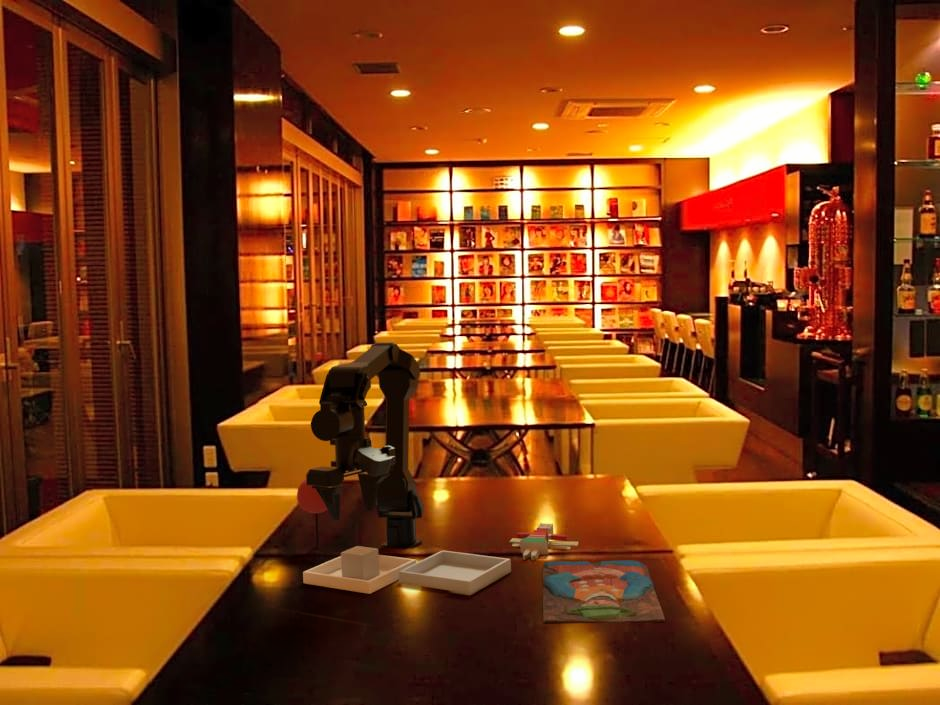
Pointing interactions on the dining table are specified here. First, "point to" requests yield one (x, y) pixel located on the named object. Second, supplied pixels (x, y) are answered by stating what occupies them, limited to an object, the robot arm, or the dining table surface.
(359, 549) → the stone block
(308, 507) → the lollipop
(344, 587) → the bin
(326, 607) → the dining table surface
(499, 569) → the bin
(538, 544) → the toy
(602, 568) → the plaque
